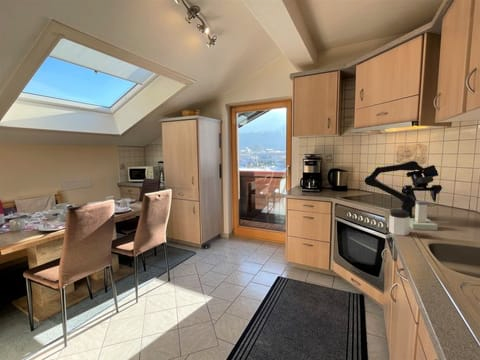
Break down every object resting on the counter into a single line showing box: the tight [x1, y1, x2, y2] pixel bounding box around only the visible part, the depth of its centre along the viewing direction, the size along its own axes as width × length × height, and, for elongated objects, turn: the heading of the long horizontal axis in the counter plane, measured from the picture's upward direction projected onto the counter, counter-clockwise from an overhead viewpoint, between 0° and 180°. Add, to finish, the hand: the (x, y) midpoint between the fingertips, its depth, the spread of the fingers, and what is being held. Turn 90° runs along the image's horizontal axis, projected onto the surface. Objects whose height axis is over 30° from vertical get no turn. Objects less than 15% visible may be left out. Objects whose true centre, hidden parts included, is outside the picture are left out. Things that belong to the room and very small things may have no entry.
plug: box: [414, 200, 428, 223], centre depth 136 cm, size 4×4×14 cm
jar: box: [388, 208, 410, 237], centre depth 128 cm, size 9×8×12 cm
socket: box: [409, 217, 439, 231], centre depth 136 cm, size 11×11×3 cm
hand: (425, 201), depth 137 cm, fingers open, 9 cm apart
